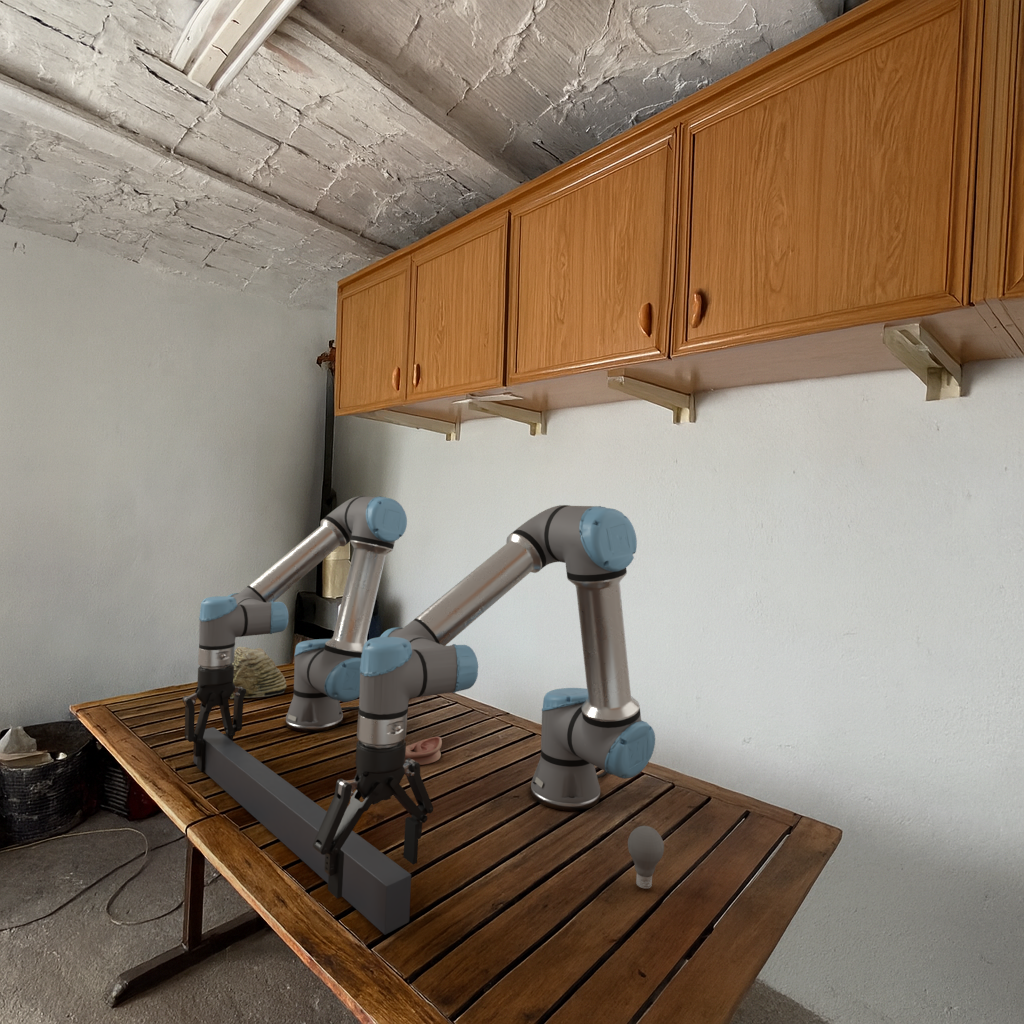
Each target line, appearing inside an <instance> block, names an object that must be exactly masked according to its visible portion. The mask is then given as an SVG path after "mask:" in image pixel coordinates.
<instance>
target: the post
mask: <svg viewBox="0 0 1024 1024" xmlns="http://www.w3.org/2000/svg"><path fill="white" fill-rule="evenodd" d="M203 740H204V741H205V742H206V751H205V771H203V772H204V773H205V774H206V775H207V776H208V777H209V778H210V779H212V781H214V782H215V784H217V785H218V786H219V787H220V788H221V789H222V790H224V791H225V792H226V793H227V794H228V795H229V796H230V797H231V798H232V799H233V800H235V802H237V803H238V804H239V805H240V806H241V807H242V808H244V809H245V810H246V812H248V813H249V814H250V815H251V816H252V817H253V818H255V819H256V820H257V821H258V822H259V823H260V825H262V826H264V828H265V829H267V830H268V832H269V833H271V834H272V835H273V836H275V837H276V838H277V839H278V840H279V841H280V842H281V843H282V844H283V845H284V846H285V847H287V848H288V849H289V850H290V851H291V852H292V853H293V854H294V855H295V856H296V857H298V858H299V859H300V860H301V861H302V862H303V863H304V864H305V865H307V866H308V867H309V868H310V869H311V870H312V871H313V872H314V873H315V874H317V875H318V876H319V877H320V878H321V879H322V880H323V881H324V882H325V883H327V884H328V877H329V875H328V874H327V873H326V872H325V869H324V866H325V855H322V854H321V853H320V852H319V851H317V850H316V849H315V848H314V847H313V842H314V840H315V838H316V836H317V833H318V831H319V829H320V827H321V824H322V822H323V820H324V818H325V815H326V813H327V811H328V810H325V809H324V808H323V807H321V806H320V805H319V804H317V802H315V801H313V800H312V799H311V798H310V797H308V796H307V795H305V794H304V793H303V792H301V791H300V790H299V789H298V788H296V787H295V786H293V785H292V784H291V783H289V782H288V781H287V780H286V779H284V778H282V777H281V776H280V775H278V774H277V773H276V772H275V771H273V770H272V769H271V768H269V767H268V766H267V765H265V764H264V763H262V762H261V761H260V760H259V759H257V758H256V757H255V756H253V755H252V754H251V753H249V752H248V751H247V750H245V749H244V748H243V747H242V746H240V745H239V744H237V743H236V742H234V740H233V741H232V740H230V739H229V738H228V737H226V736H225V735H224V733H223V732H221V731H220V730H218V729H217V728H216V727H215V726H213V727H209V728H208V727H207V728H205V732H204V736H203ZM192 761H193V762H192V763H193V764H194V765H196V766H197V757H196V756H195V755H194V754H193V760H192ZM334 843H335V842H334ZM341 850H342V851H343V852H344V865H343V884H342V897H341V898H343V899H344V900H345V901H347V902H348V903H349V904H350V905H351V906H352V907H353V908H354V909H356V911H357V912H358V913H360V914H361V915H362V916H363V917H364V918H365V919H366V920H368V922H370V923H371V924H372V925H373V926H374V927H375V928H377V930H379V931H380V932H381V933H382V934H383V935H384V936H385V935H388V934H390V933H391V932H393V931H395V930H398V928H401V927H402V926H404V925H406V924H407V923H410V914H411V913H410V912H411V911H410V910H411V891H412V890H411V889H412V888H411V887H412V874H411V873H410V872H408V871H407V870H406V869H405V868H403V867H402V866H400V865H399V864H398V863H396V861H394V860H393V859H391V858H390V857H389V856H387V855H386V854H384V853H383V852H382V851H381V850H379V849H378V848H377V847H375V846H374V845H372V844H371V843H370V842H368V841H367V840H366V839H364V838H363V837H362V836H361V835H359V834H358V833H357V832H355V831H353V830H352V832H351V833H350V835H349V836H348V838H347V840H346V841H345V843H344V844H343V846H342V847H341Z"/></svg>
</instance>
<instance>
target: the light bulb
mask: <svg viewBox="0 0 1024 1024" xmlns="http://www.w3.org/2000/svg"><path fill="white" fill-rule="evenodd" d="M627 849H628V852H629V855H630V857H631V859H632V861H633V863H634V870H635V872H636V877H635V879H636V880H635V884H636V886H638V887H639V888H641V889H644V890H647V889H650V888H651V887H652V886H653V875H654V874H655V871H656V867H657V865H658V864H659V862H660V861H661V860H662V858H663V856H664V852H665V843H664V840H663V838H662V836H661V834H660V833H659V832H658V831H657V830H656V829H655V828H653V827H652V826H650V825H649V826H648V825H640V826H638V827H636V828H634V829H633V830H632V831H631V832H630V834H629V836H628V839H627Z"/></svg>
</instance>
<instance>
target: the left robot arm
mask: <svg viewBox="0 0 1024 1024" xmlns="http://www.w3.org/2000/svg"><path fill="white" fill-rule="evenodd" d="M407 526H408V518H407V514H406V510H405V509H404V507H403V506H402V504H400V502H398V500H395V499H393V498H391V497H386V496H380V495H379V496H366V495H359V496H354V497H352V498H350V499H347V500H346V501H344V502H342V503H341V504H340V505H339V506H337V507H336V508H335V509H333V510H332V511H331V512H329V513H328V514H327V515H325V517H323V518H322V519H321V520H320V526H318V527H317V528H316V529H315V530H314V531H312V532H311V533H309V535H307V536H306V537H305V538H304V539H303V540H301V541H300V542H299V543H298V544H297V545H296V546H294V547H293V548H291V549H290V550H289V551H288V552H287V553H285V555H283V556H282V557H281V558H280V559H279V560H277V561H276V562H275V563H274V564H272V565H271V566H270V567H269V568H268V569H266V571H264V572H263V573H262V574H260V575H259V576H258V577H257V578H256V579H254V580H253V581H252V582H251V583H250V584H248V585H247V586H246V587H244V588H243V589H242V590H240V591H239V592H235V593H231V594H227V596H226V595H222V596H218V595H216V596H209V597H205V598H204V599H203V600H202V601H201V602H200V607H199V608H200V609H199V617H198V621H199V625H198V626H199V630H198V632H199V634H198V635H199V636H198V639H199V640H198V657H197V665H199V666H198V668H197V686H196V689H195V690H194V693H192V694H191V695H184V696H183V697H182V703H183V705H184V739H185V740H186V741H187V742H189V743H193V749H192V755H193V756H194V755H195V756H196V757H197V765H196V768H197V769H198V770H199V771H200V772H204V771H205V751H206V742H205V741H204V740H203V736H204V732H205V729H207V728H206V727H207V724H208V720H209V717H210V713H211V712H212V709H213V708H215V707H217V706H218V707H219V711H220V715H221V720H222V724H223V729H224V732H223V734H224V735H225V736H226V737H228V738H229V739H230V740H232V741H233V742H234V737H235V735H236V733H237V732H240V731H242V729H243V714H244V700H245V698H244V696H245V694H246V689H244V688H243V687H241V686H239V687H235V685H234V683H233V680H234V665H233V664H232V663H233V662H234V654H235V650H236V638H241V637H250V636H251V637H253V636H260V635H262V636H263V635H272V634H277V633H282V632H284V631H285V630H286V629H287V627H288V624H289V609H288V607H287V605H286V604H285V603H284V602H283V601H276V600H278V599H279V598H280V597H282V595H284V594H285V593H287V592H288V590H290V589H291V588H292V587H293V586H294V585H295V584H297V582H299V581H300V580H301V579H303V578H304V577H305V576H306V575H307V574H309V572H311V571H312V570H313V569H314V568H315V567H317V565H319V564H321V562H322V561H323V560H325V559H326V558H327V557H328V556H329V555H330V554H332V552H334V551H335V550H336V549H337V548H339V547H345V546H346V545H347V544H349V543H350V544H351V546H352V547H353V552H352V555H351V560H350V565H349V569H348V573H347V578H346V581H345V586H344V589H343V594H342V597H341V602H340V605H339V610H338V614H337V619H336V623H335V628H334V631H333V636H332V637H331V638H319V639H308V640H303V641H300V642H297V644H296V645H295V650H294V655H293V656H294V672H293V695H292V696H293V697H292V699H291V702H290V704H289V708H288V711H287V713H286V715H285V726H286V728H287V729H289V730H291V731H294V732H295V731H296V732H301V733H316V732H325V731H329V730H332V729H335V728H337V727H339V726H340V725H342V723H343V722H344V714H343V711H351V710H352V711H353V710H359V705H358V706H344V707H343V706H341V702H343V703H347V702H353V701H355V700H357V699H359V695H360V665H361V656H362V650H363V646H364V644H365V643H366V642H367V638H368V634H369V631H370V630H369V629H370V626H371V621H372V617H373V612H374V609H375V604H376V600H377V595H378V592H379V588H380V587H379V586H380V582H381V578H382V574H383V569H384V565H385V561H386V556H387V555H388V554H390V553H391V552H393V551H394V546H395V543H396V541H398V540H400V539H401V537H403V536H404V534H405V532H406V529H407ZM233 692H234V698H233V711H232V714H231V711H230V702H229V699H230V696H231V695H232V693H233ZM197 699H198V700H199V701H200V702H201V703H200V705H199V713H198V717H197V721H196V725H195V718H196V717H195V715H196V714H195V713H196V710H195V705H196V704H197ZM231 715H232V716H231Z"/></svg>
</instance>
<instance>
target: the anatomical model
mask: <svg viewBox="0 0 1024 1024" xmlns="http://www.w3.org/2000/svg"><path fill="white" fill-rule="evenodd" d="M442 740H443V739H442V737H441V736H433V737H428V738H425V739H422V740H419V741H417V742H414V743H412V744H409V745H406V753H405V761H406V759H408V758H410V759H412V760H414V761H416V762H418V763H419V764H420V766H423V765H429V764H432V763H435V762H437V761H438V760H440V759H441V755H442V753H441V751H440V750H441V748H442V744H443V741H442Z"/></svg>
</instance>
